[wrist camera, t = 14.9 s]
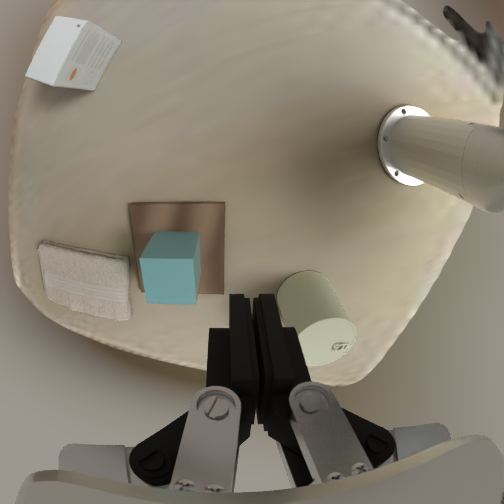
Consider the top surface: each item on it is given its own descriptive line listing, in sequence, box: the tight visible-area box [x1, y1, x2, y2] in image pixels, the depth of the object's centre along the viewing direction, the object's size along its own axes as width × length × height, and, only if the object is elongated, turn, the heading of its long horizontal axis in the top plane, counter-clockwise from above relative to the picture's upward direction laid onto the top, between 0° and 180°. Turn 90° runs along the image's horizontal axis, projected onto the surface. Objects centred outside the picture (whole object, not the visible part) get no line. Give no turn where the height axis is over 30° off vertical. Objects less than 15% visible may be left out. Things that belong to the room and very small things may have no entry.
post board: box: [129, 202, 225, 294], centre depth 35 cm, size 13×14×8 cm
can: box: [277, 271, 356, 366], centre depth 38 cm, size 9×9×12 cm
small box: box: [25, 16, 121, 91], centre depth 20 cm, size 8×6×10 cm
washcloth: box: [37, 240, 132, 321], centre depth 38 cm, size 12×18×3 cm, turn 78°
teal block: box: [139, 232, 201, 305], centre depth 34 cm, size 6×6×8 cm
